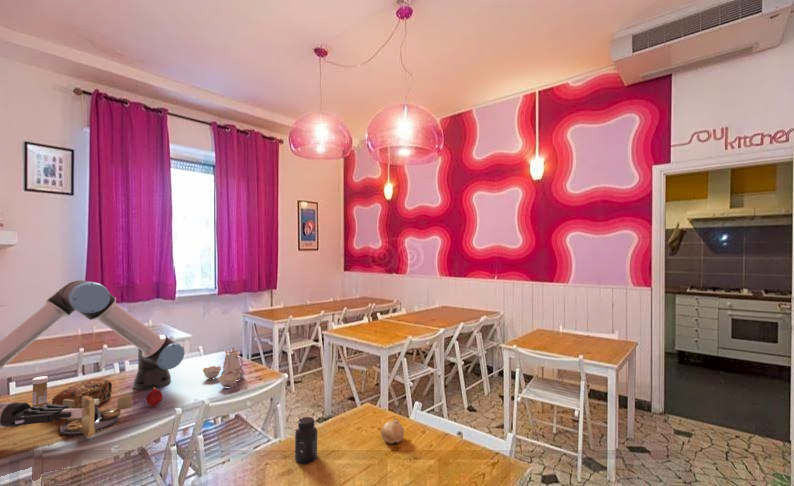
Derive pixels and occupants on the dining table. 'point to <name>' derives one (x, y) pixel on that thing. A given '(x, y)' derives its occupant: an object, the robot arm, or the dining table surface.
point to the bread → (85, 392)
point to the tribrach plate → (98, 415)
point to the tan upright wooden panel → (85, 418)
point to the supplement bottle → (306, 441)
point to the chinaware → (227, 369)
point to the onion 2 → (392, 432)
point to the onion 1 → (154, 397)
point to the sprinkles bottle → (39, 391)
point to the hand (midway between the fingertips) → (83, 413)
